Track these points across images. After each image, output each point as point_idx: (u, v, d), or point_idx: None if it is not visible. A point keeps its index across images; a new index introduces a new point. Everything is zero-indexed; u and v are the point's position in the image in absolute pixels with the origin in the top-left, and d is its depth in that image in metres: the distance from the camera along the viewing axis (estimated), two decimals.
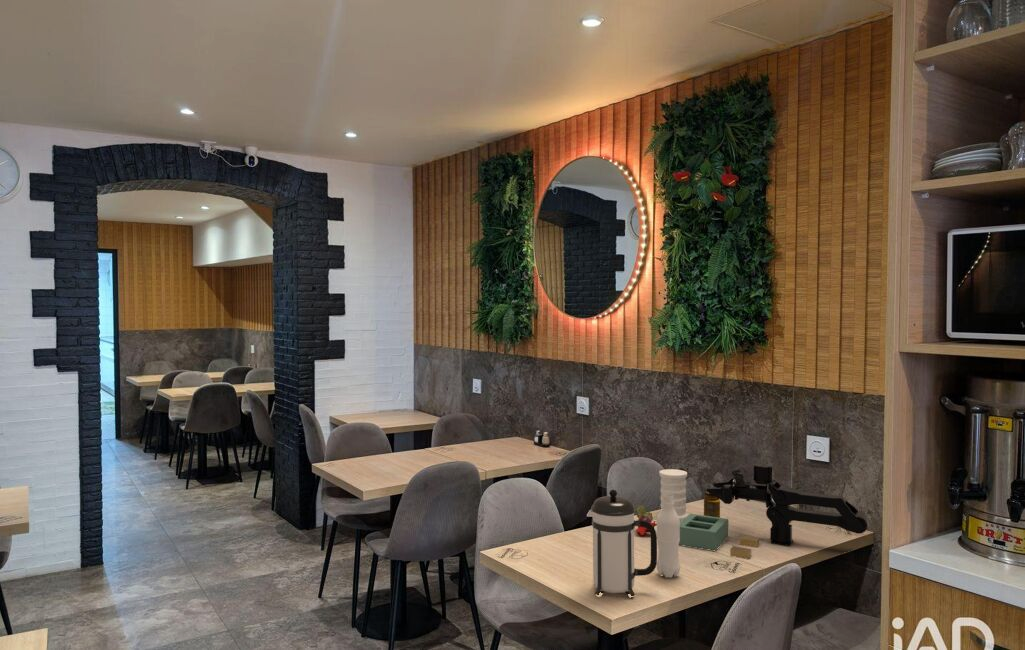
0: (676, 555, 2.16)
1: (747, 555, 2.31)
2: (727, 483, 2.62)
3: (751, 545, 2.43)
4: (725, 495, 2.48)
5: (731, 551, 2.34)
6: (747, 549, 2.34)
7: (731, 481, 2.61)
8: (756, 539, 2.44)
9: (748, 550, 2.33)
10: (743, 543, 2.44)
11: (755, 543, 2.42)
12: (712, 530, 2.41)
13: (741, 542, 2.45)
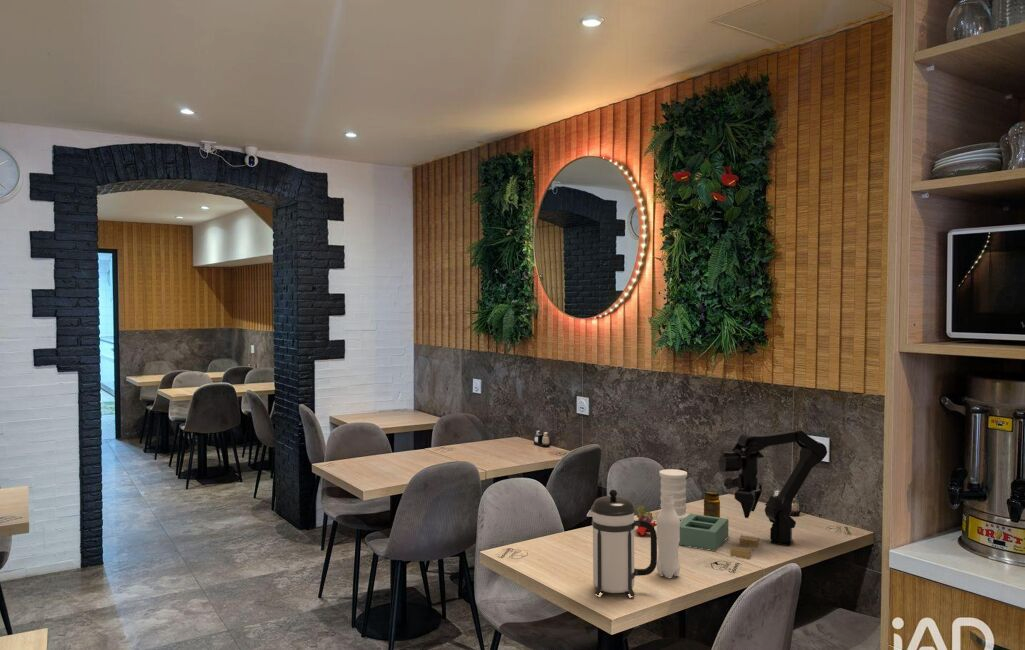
0: (676, 555, 2.16)
1: (747, 555, 2.31)
2: None
3: (751, 545, 2.43)
4: (743, 498, 2.37)
5: (731, 551, 2.34)
6: (747, 549, 2.34)
7: None
8: (756, 539, 2.44)
9: (748, 550, 2.33)
10: (743, 543, 2.44)
11: (755, 543, 2.42)
12: (712, 530, 2.41)
13: (742, 542, 2.45)
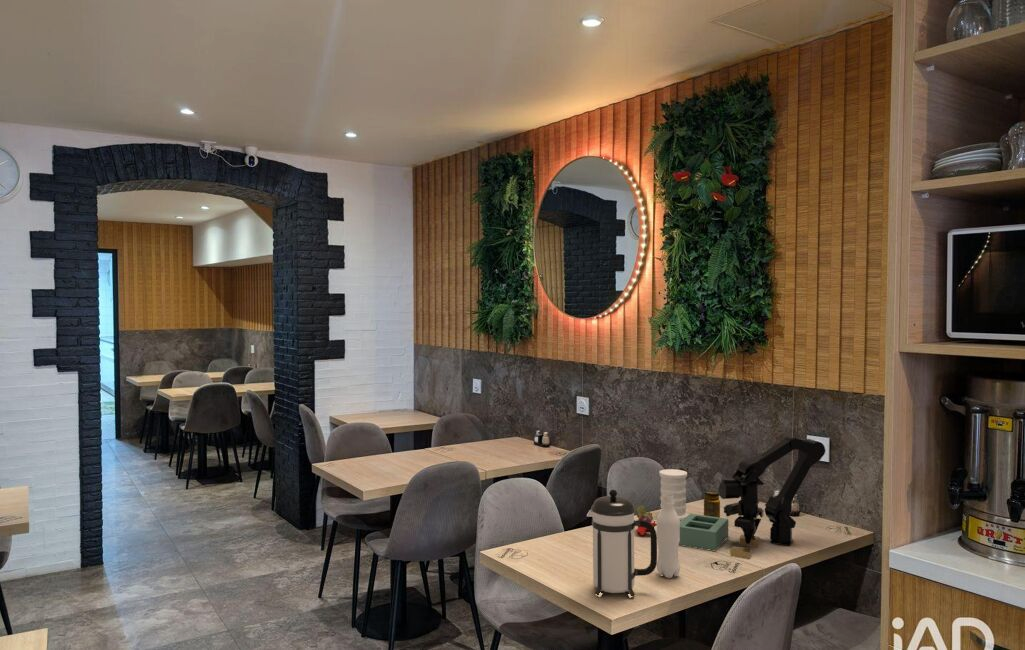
0: (676, 555, 2.16)
1: (747, 555, 2.31)
2: None
3: (751, 544, 2.43)
4: (743, 526, 2.37)
5: (731, 551, 2.34)
6: (747, 549, 2.34)
7: None
8: (756, 538, 2.44)
9: (748, 550, 2.33)
10: (743, 542, 2.44)
11: (755, 542, 2.42)
12: (712, 530, 2.41)
13: (742, 541, 2.44)
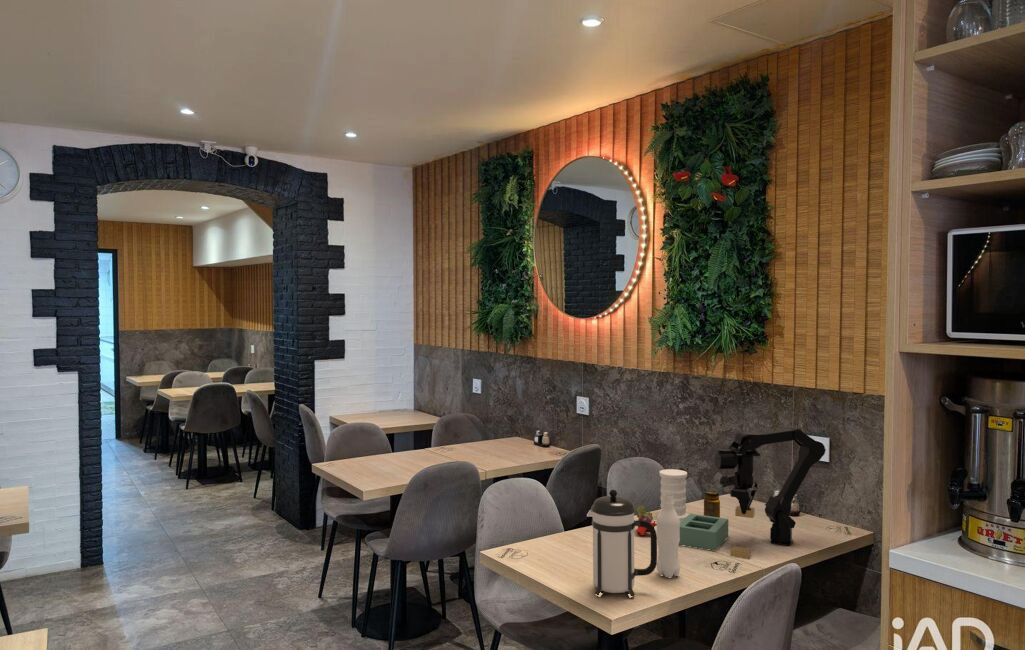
0: (676, 555, 2.16)
1: (747, 555, 2.31)
2: None
3: (747, 515, 2.44)
4: (739, 496, 2.38)
5: (731, 551, 2.34)
6: (747, 549, 2.34)
7: None
8: (752, 509, 2.45)
9: (748, 550, 2.33)
10: (739, 513, 2.45)
11: (751, 512, 2.43)
12: (712, 530, 2.41)
13: (737, 512, 2.45)
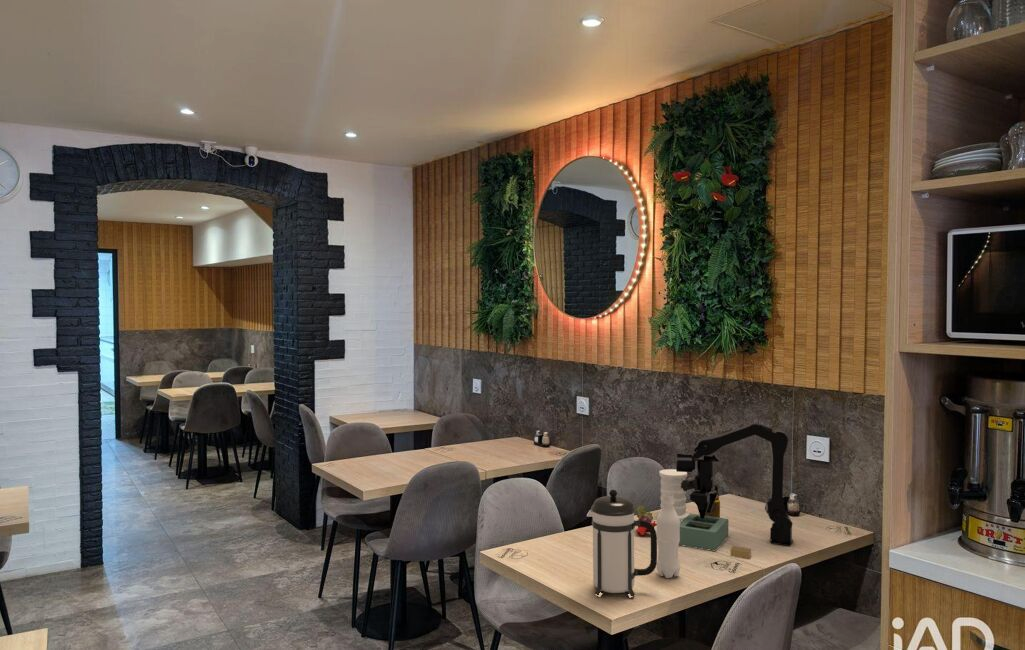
0: (676, 555, 2.16)
1: (747, 555, 2.31)
2: None
3: None
4: (698, 499, 2.45)
5: (731, 551, 2.34)
6: (747, 549, 2.34)
7: None
8: None
9: (748, 550, 2.33)
10: None
11: None
12: (712, 530, 2.41)
13: None
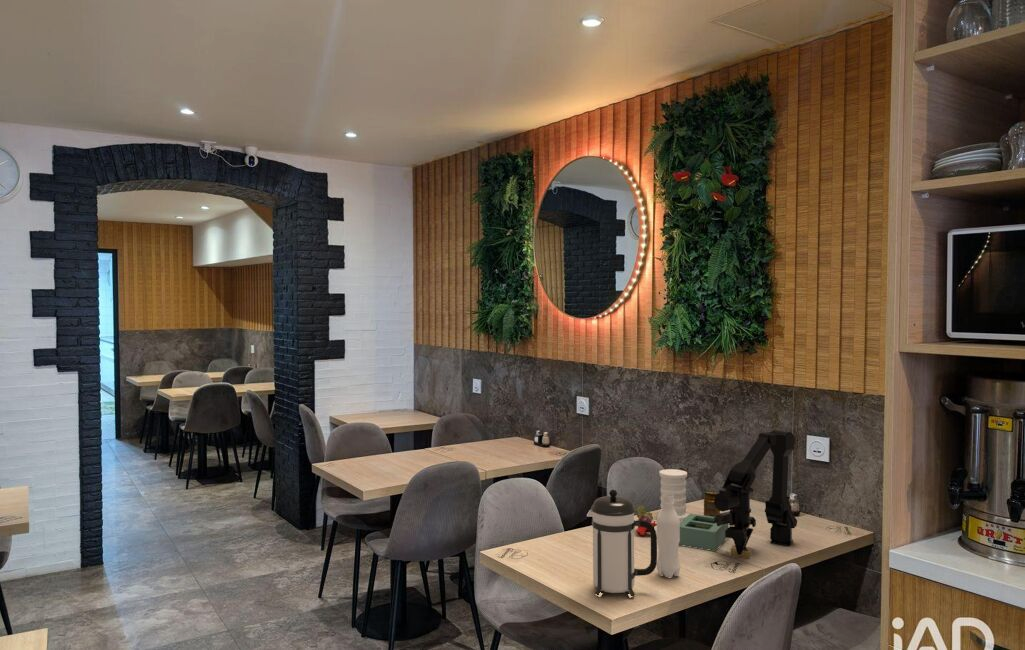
0: (676, 555, 2.16)
1: (747, 554, 2.31)
2: None
3: None
4: (734, 536, 2.26)
5: (731, 550, 2.34)
6: (747, 548, 2.34)
7: None
8: None
9: (748, 549, 2.33)
10: None
11: None
12: (712, 530, 2.41)
13: None
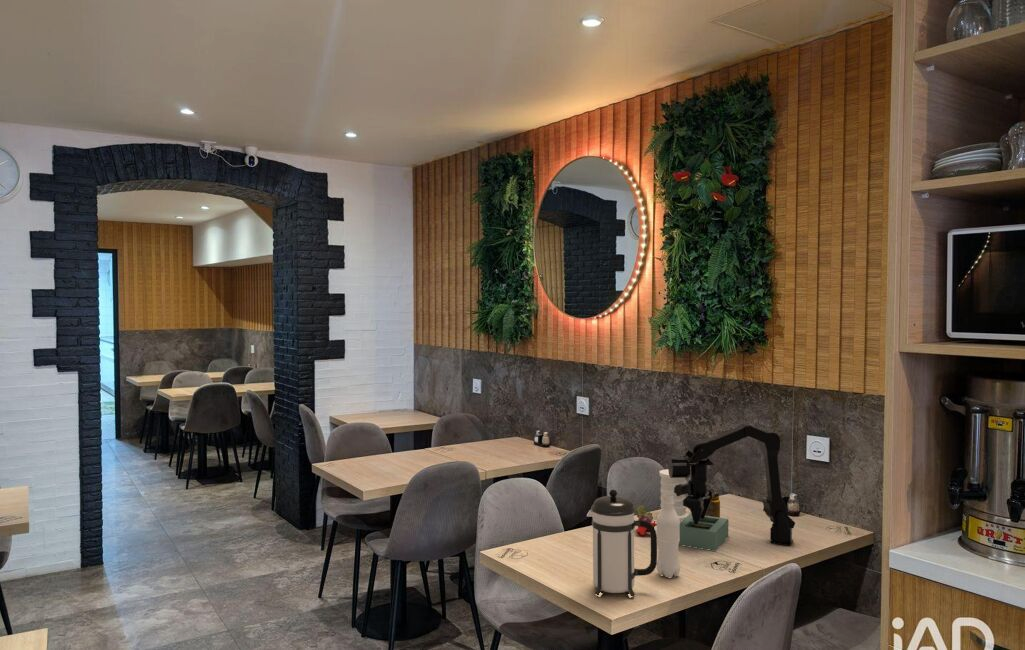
0: (676, 555, 2.16)
1: None
2: None
3: None
4: (691, 505, 2.38)
5: None
6: None
7: None
8: None
9: None
10: None
11: None
12: (712, 530, 2.41)
13: None
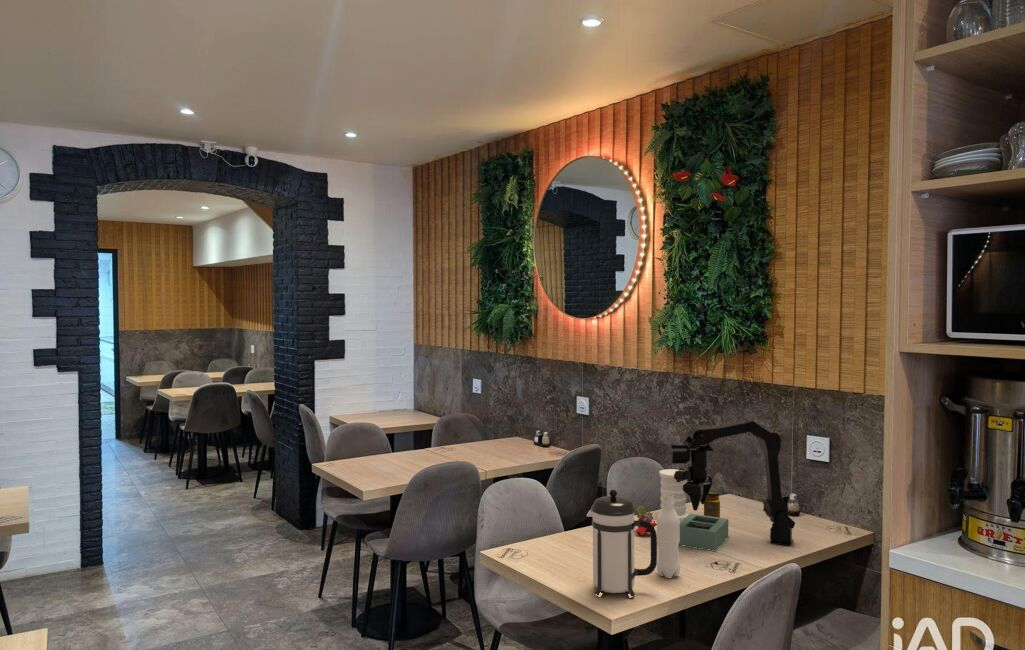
0: (676, 555, 2.16)
1: None
2: None
3: None
4: (691, 490, 2.38)
5: None
6: None
7: None
8: None
9: None
10: None
11: None
12: (712, 530, 2.41)
13: None
